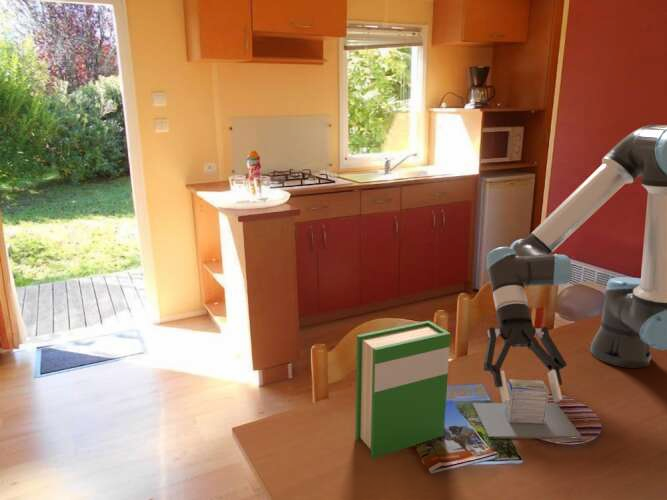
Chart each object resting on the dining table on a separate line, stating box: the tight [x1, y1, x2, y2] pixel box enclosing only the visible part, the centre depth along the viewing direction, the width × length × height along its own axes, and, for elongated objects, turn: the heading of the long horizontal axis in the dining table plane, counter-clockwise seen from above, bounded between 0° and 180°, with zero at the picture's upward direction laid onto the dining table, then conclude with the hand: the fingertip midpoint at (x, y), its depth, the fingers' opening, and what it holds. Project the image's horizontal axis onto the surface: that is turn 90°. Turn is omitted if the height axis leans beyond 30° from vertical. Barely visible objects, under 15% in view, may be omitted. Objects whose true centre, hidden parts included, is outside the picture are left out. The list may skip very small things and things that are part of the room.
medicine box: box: [505, 378, 550, 424], centre depth 117 cm, size 8×4×9 cm, turn 85°
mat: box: [472, 402, 583, 439], centre depth 118 cm, size 20×13×1 cm, turn 90°
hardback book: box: [354, 320, 451, 460], centre depth 109 cm, size 18×7×24 cm, turn 116°
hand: (532, 401), depth 113 cm, fingers open, 11 cm apart
